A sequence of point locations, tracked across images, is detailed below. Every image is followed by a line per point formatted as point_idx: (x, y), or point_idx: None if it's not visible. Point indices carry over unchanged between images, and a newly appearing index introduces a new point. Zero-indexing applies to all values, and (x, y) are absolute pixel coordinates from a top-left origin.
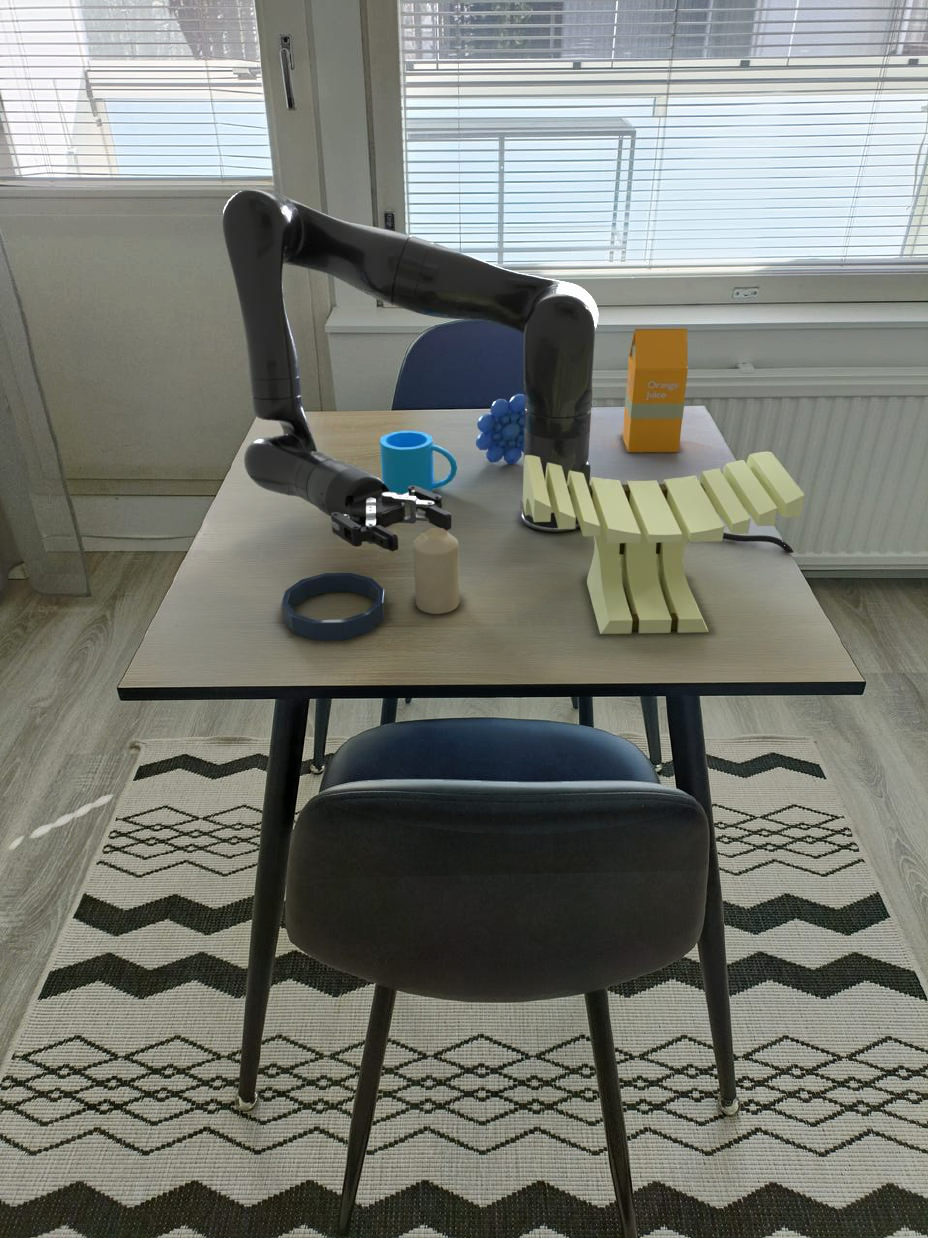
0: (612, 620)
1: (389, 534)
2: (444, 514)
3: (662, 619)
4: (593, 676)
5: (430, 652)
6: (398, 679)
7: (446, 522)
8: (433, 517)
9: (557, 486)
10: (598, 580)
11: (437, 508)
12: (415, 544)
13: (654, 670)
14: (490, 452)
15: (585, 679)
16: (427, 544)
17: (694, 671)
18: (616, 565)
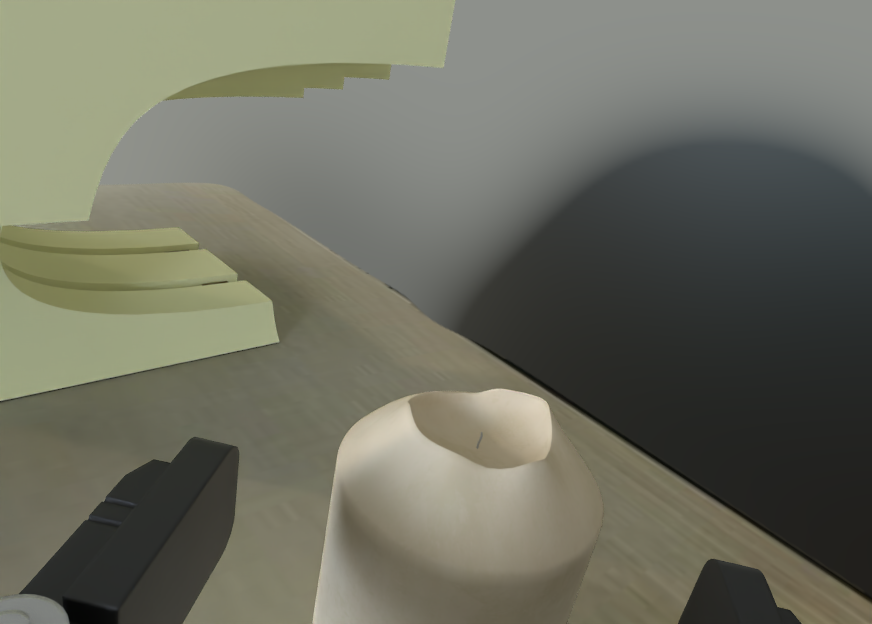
0: (268, 298)
1: (769, 590)
2: (221, 454)
3: (214, 256)
4: (430, 330)
5: (655, 578)
6: (809, 580)
7: (231, 486)
8: (159, 613)
9: None
10: (63, 334)
11: (127, 530)
12: (585, 528)
13: (346, 284)
14: None
15: (448, 335)
16: (569, 442)
17: (311, 258)
18: (20, 278)
